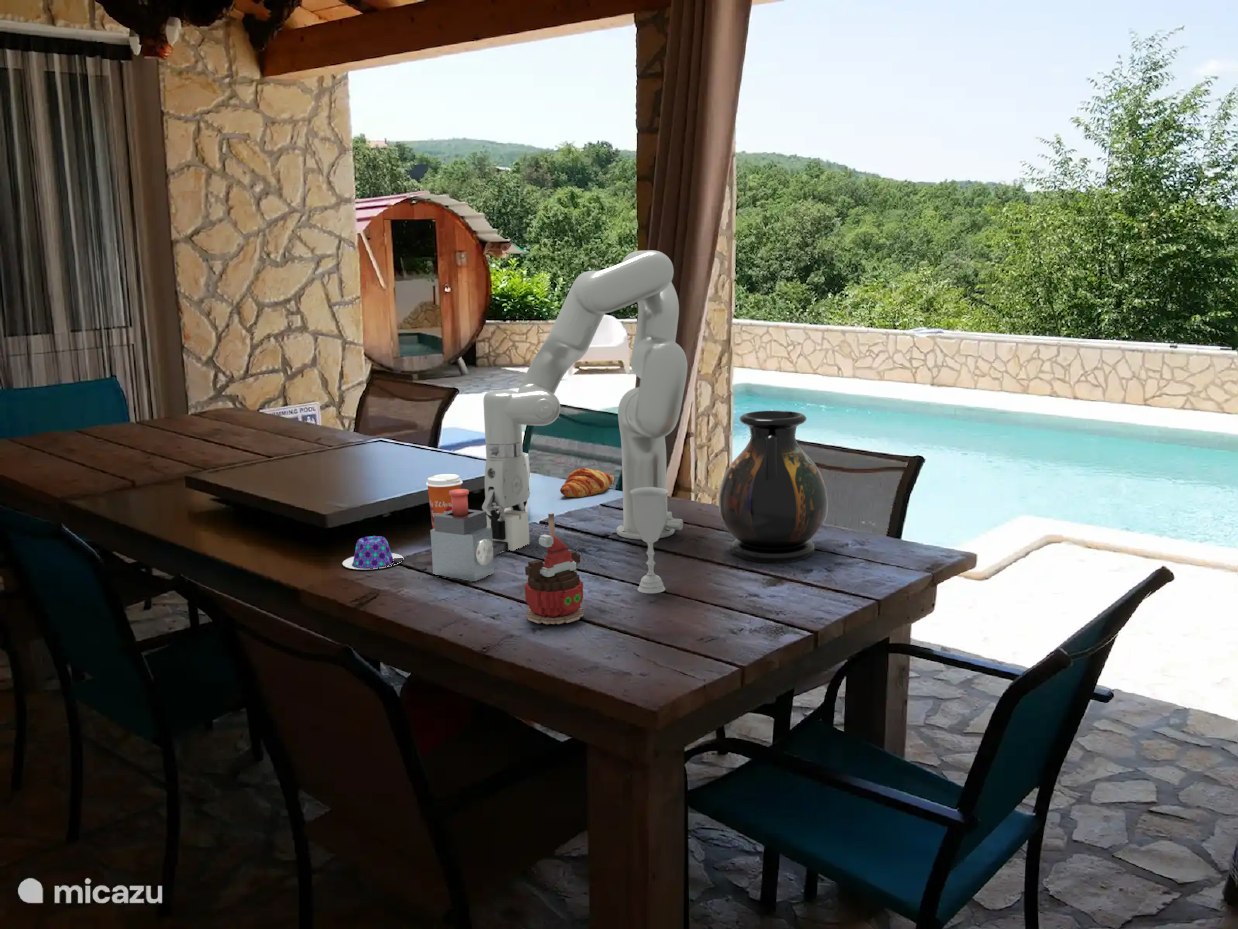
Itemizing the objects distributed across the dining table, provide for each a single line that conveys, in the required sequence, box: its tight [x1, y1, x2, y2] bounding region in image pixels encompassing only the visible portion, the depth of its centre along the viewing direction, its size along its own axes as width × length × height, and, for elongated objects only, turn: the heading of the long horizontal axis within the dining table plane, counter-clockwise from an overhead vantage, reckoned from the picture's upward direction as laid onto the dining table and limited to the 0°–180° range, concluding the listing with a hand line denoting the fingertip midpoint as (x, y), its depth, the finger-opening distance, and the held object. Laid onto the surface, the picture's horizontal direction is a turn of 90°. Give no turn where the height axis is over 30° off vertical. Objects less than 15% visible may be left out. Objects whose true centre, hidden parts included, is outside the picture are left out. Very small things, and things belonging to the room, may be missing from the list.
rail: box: [493, 538, 531, 556], centre depth 222 cm, size 5×16×2 cm, turn 150°
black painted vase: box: [718, 410, 829, 564], centre depth 212 cm, size 22×22×28 cm
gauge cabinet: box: [429, 508, 495, 582], centre depth 205 cm, size 10×7×12 cm
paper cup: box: [425, 473, 464, 529], centre depth 231 cm, size 8×8×14 cm
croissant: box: [559, 467, 615, 498], centre depth 276 cm, size 21×10×8 cm, turn 145°
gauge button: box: [449, 488, 470, 517], centre depth 204 cm, size 4×4×5 cm
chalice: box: [630, 487, 669, 594], centre depth 192 cm, size 7×7×18 cm
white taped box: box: [487, 509, 531, 552], centre depth 225 cm, size 6×6×7 cm
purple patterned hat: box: [341, 535, 404, 571], centre depth 216 cm, size 12×12×5 cm
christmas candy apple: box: [524, 512, 585, 625], centre depth 178 cm, size 11×9×18 cm
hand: (508, 534), depth 225 cm, fingers closed on white taped box, 6 cm apart
